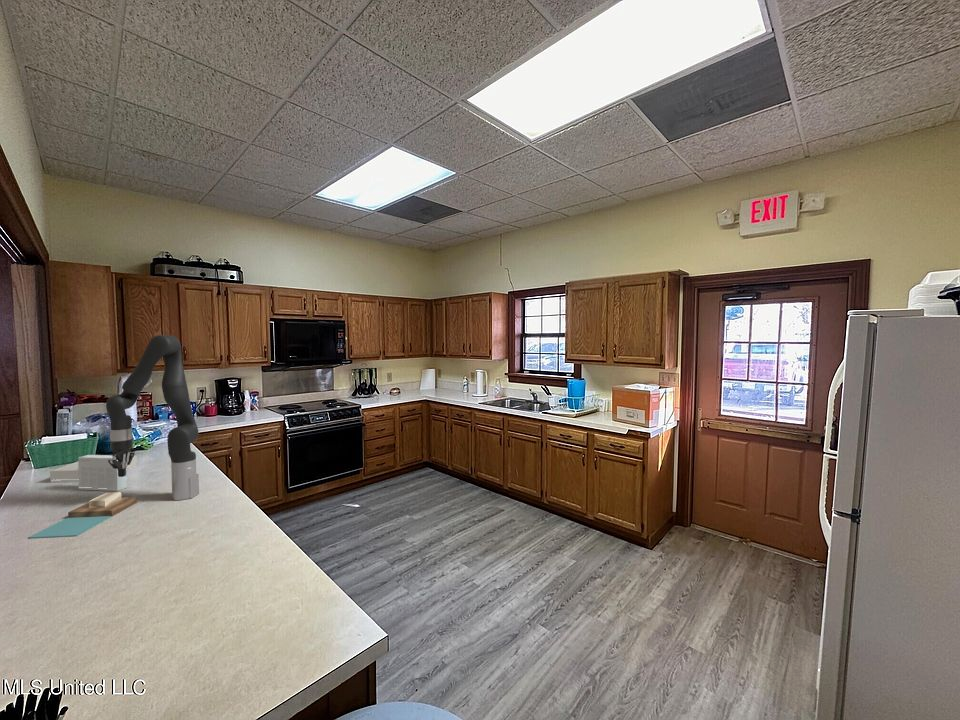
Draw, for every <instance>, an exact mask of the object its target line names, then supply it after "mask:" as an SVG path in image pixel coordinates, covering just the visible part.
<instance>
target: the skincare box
mask: <svg viewBox="0 0 960 720" xmlns="http://www.w3.org/2000/svg"><path fill="white" fill-rule="evenodd" d="M112 458H113V456H112V455H111V454H110V455H109V454H108V455H105V454H103V455H101V454H87V455H83V456H78V457H77V459H78V460H77V461H78V477H79V482H78V490H82V491H102V492H103V491H104V492H105V491H107V492H120V491H122V490H124V489H127V487H128V484H127V483H128V480H127V478H128V476H127V473H128V471H127V467H126V476H124V477H118V469H114V468H113V467H112V466H111V465H110V464H109V462H108V460H111V459H112ZM79 487H92V488H79ZM98 488H107V489H98Z"/></svg>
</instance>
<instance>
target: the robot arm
mask: <svg viewBox="0 0 960 720" xmlns="http://www.w3.org/2000/svg"><path fill="white" fill-rule="evenodd" d="M182 353H183V352H182V345H181V341H180V340H179V339H178V337H176V336H174V335H169V334H168V335H167V334H159V335H155V336H153V337H152V338H151V339H150V340H149V342H148V344H147V345H146V348H145V350H144V352H143V353H142V355H141V357H140V359H139V361H138V363H137V364H136V366H135V368H134V369H133V370H132V372H131V373H130V375H128V377H127V378H126V380H125V381H124V382H123V383H122V386H121V389H122V392H121V393H120V394H117V395H112V396H110V397H109V398H107V400H106V402H105V403H106V405H105V408H106V412H107V415H108V417H109V420H110V432H109V433H110V434H109V440H110V442H109V444H110V445H109V447H110V448H109V449H110V451H112V452H113V453H112V454H111V456H113V458H112V459H111V460H108V462H109V464H110V465H111V466H112V467H113V468H114V469H118V477H124V476H126V467H127V465H130V463H131V461H132V459H133V457H134V456H135V455H136V454H135V452H132V450H131V449H132V448H133V447H134V446H133V445H134V444H133V441H134V440H133V437H134V436H133V429H132V428H133V427H132V422H133V421H132V416H131V415H128V414H127V413H126V410H127V409H130V408H132V407H133V406H135V404H136V402H137V401H138V399H139V396H140V394H141V392H142V391H143V390H144V388H145V387H146V385H147V384H148V383H149V381H150V379H151V377H152V374H153V371H154V368H155V366H156V364H158V362H159V361H160V360H161V359H162V358H163V363H164V370H163V371H164V372H163V375H162V379H161V389H162V395H163V399H164V401H165V403H166V404H167V406H168V407H169V409H170V410H171V411H172V413H173V414H174V416H175V419H176V420H175V421H176V424H177V426H176V427H174V428H172V429H171V430H170V431H169V432H168V434H167V442H166V443H167V452H168V457H169V458H170V461H171V462H170V464H171V465H170V468H171V497H172V500H173V501H183V500H189V499H193V498H195V497H196V496H197V495H199V494H200V481H199V480H200V479H199V475H200V474H199V473H197V453H196V452H195V451H192V449H191V444H192V443H194V442H195V441H197V439H198V437H199V428H198V425H197V423H196V419H195V417H194V414H193V410H192V409H193V408H192V405H191V399H190V394H189V389H188V383H187V380H186V374H185V370H184V363H183V354H182Z"/></svg>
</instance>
